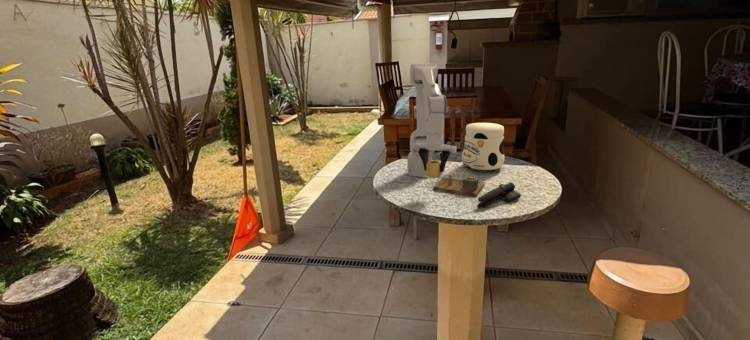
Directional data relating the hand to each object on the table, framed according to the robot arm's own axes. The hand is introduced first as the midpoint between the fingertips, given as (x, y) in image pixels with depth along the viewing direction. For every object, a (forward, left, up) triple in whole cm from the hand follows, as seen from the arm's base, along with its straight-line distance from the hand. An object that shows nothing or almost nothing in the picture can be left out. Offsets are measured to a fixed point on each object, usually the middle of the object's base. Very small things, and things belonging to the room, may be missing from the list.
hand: (434, 170), depth 134 cm
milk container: (+8, +38, -10) cm, 40 cm away
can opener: (+21, +4, -10) cm, 24 cm away
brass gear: (0, 0, -2) cm, 2 cm away
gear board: (+6, +11, -9) cm, 15 cm away
